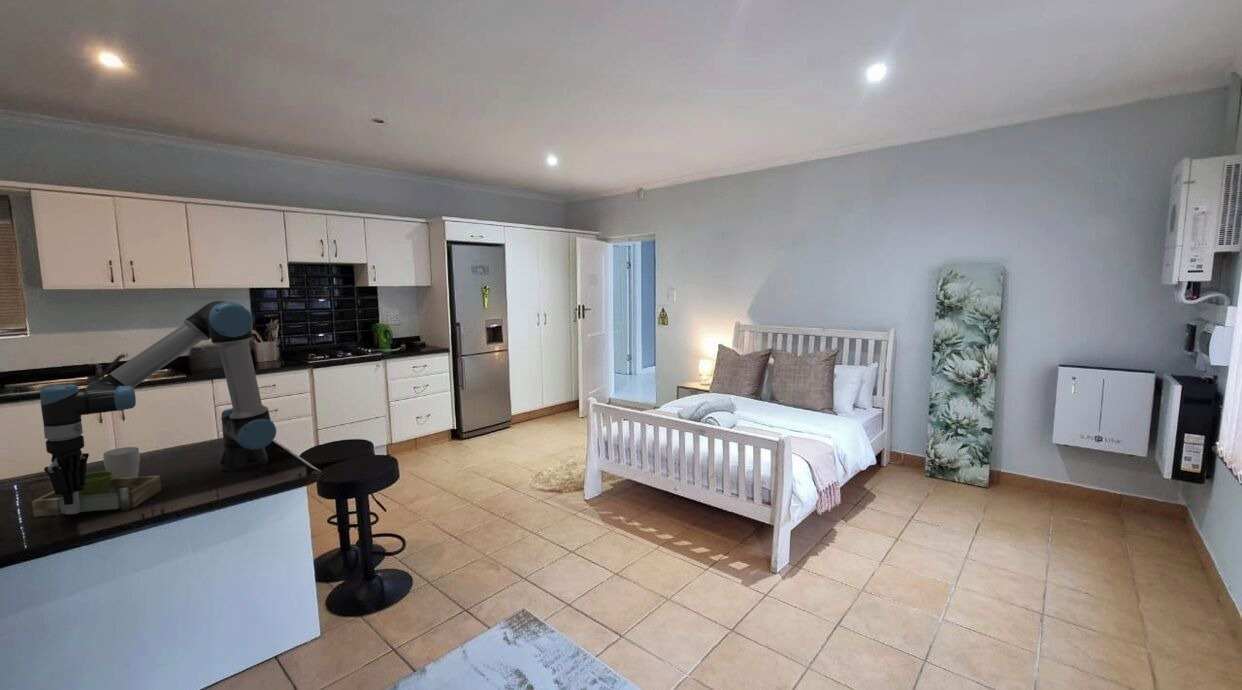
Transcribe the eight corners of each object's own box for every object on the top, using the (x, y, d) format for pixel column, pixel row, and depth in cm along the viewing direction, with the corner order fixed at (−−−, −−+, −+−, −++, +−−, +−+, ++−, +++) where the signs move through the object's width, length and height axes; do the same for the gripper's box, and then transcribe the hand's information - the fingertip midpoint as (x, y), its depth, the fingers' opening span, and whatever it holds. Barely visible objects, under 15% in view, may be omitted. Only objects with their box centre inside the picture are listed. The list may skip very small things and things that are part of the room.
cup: (119, 490, 169) (115, 456, 168) (98, 487, 171) (95, 454, 170) (149, 480, 178) (146, 448, 177) (129, 477, 180) (126, 445, 178)
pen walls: (162, 489, 171) (161, 475, 171) (129, 510, 156) (127, 495, 155) (77, 494, 165) (75, 480, 165) (33, 517, 150) (31, 501, 149)
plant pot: (93, 496, 165) (90, 471, 164) (123, 495, 165) (121, 470, 164) (64, 508, 156) (60, 482, 154) (96, 508, 156) (93, 482, 155)
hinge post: (132, 508, 157) (129, 486, 156) (127, 510, 155) (125, 489, 154) (124, 508, 157) (122, 487, 156) (119, 511, 155) (117, 489, 154)
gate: (120, 506, 156) (119, 492, 155) (117, 508, 155) (116, 494, 154) (64, 511, 152) (62, 496, 152) (60, 513, 151) (58, 498, 150)
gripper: (62, 443, 142) (71, 521, 145) (96, 430, 154) (104, 502, 157) (28, 444, 140) (39, 524, 143) (66, 431, 153) (75, 505, 155)
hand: (73, 513), depth 150 cm, fingers closed
